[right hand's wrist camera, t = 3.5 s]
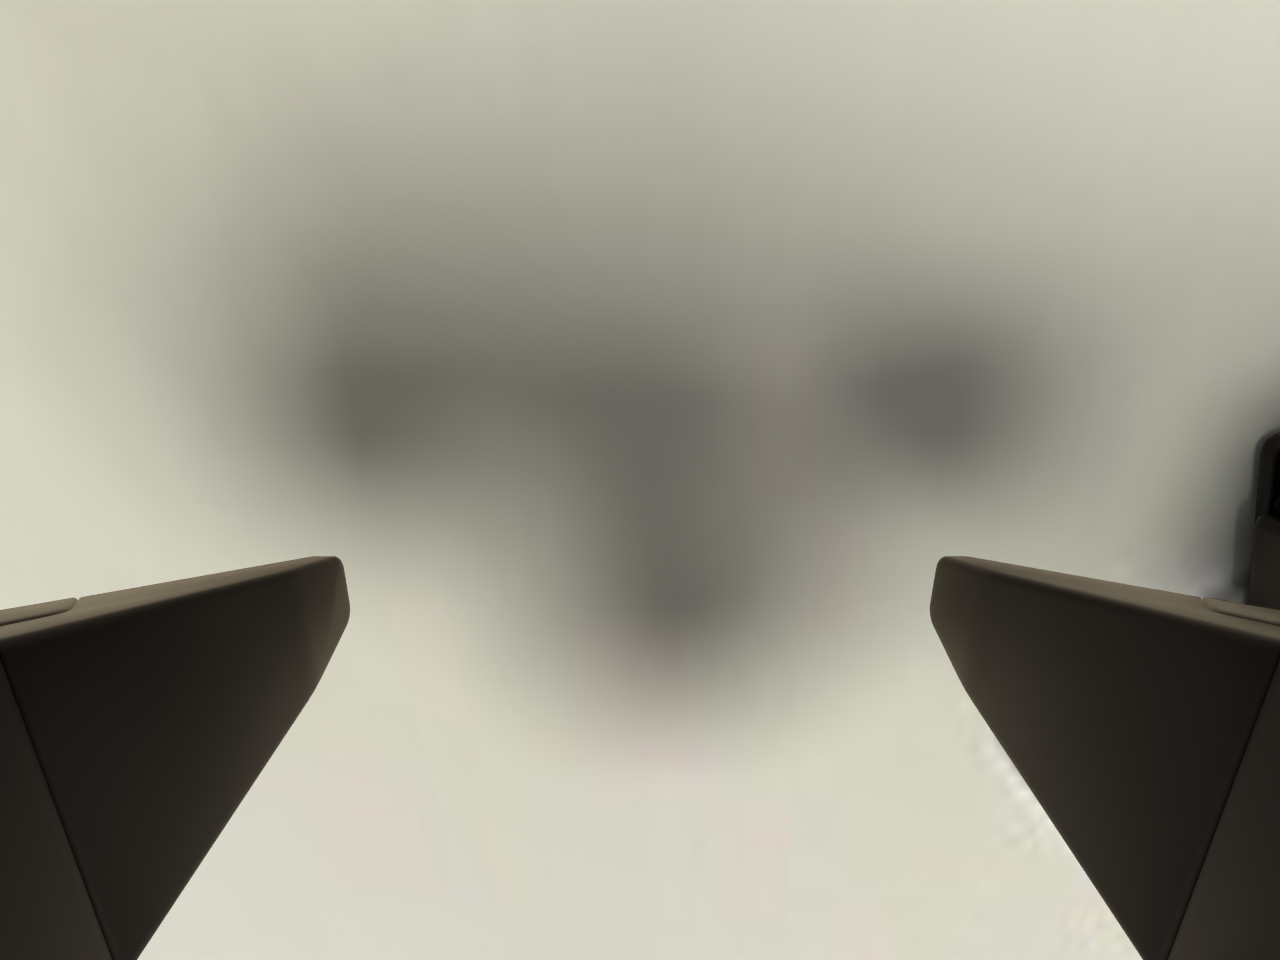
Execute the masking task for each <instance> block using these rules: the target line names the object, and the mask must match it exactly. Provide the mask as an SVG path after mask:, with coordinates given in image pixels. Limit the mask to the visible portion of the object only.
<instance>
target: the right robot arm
mask: <svg viewBox="0 0 1280 960" xmlns="http://www.w3.org/2000/svg"><path fill="white" fill-rule="evenodd" d="M349 616H350V603H349V597H348V591H347V584H346V578H345V572H344V567H343V564H342V562H341V560H340V559H339V558H337V557H335V556H329V557H307V558H301V559H296V560H290V561H284V562H279V563H273V564H267V565H262V566H256V567H250V568H245V569H239V570H233V571H228V572H222V573H216V574H211V575H205V576H199V577H194V578H188V579H182V580H177V581H171V582H165V583H160V584H154V585H148V586H143V587H137V588H131V589H125V590H120V591H114V592H108V593H103V594H97V595H91V596H86V597H81V598H80V599H79V600H77V599H76V598H69V599H63V600H57V601H51V602H46V603H40V604H34V605H28V606H22V607H16V608H10V609H5V610H0V960H137V959H138V957H139V956H140V954H141V953H142V951H143V950H144V948H145V947H146V945H147V944H148V942H149V941H150V939H151V938H152V936H153V935H154V933H155V932H156V930H157V929H158V927H159V926H160V924H161V923H162V921H163V920H164V918H165V916H166V915H167V913H168V912H169V910H170V909H171V907H172V906H173V904H174V903H175V901H176V900H177V898H178V897H179V895H180V894H181V892H182V891H183V889H184V888H185V886H186V885H187V883H188V882H189V880H190V879H191V877H192V876H193V874H194V873H195V871H196V870H197V868H198V867H199V865H200V864H201V862H202V861H203V859H204V857H205V856H206V854H207V853H208V851H209V850H210V848H211V847H212V845H213V844H214V842H215V841H216V839H217V838H218V836H219V835H220V833H221V832H222V830H223V829H224V827H225V826H226V824H227V823H228V821H229V820H230V818H231V817H232V815H233V814H234V812H235V811H236V809H237V808H238V806H239V805H240V803H241V802H242V800H243V798H244V797H245V795H246V794H247V792H248V791H249V789H250V788H251V786H252V785H253V783H254V782H255V780H256V779H257V777H258V776H259V774H260V773H261V771H262V770H263V768H264V767H265V765H266V764H267V762H268V761H269V759H270V758H271V756H272V755H273V753H274V752H275V750H276V749H277V747H278V746H279V744H280V742H281V741H282V739H283V738H284V736H285V735H286V733H287V732H288V730H289V729H290V727H291V726H292V724H293V723H294V721H295V720H296V718H297V717H298V715H299V714H300V712H301V711H302V709H303V708H304V706H305V705H306V703H307V702H308V700H309V698H310V697H311V695H312V694H313V692H314V690H315V689H316V687H317V685H318V683H319V681H320V679H321V677H322V675H323V673H324V671H325V669H326V667H327V665H328V663H329V661H330V659H331V657H332V655H333V653H334V651H335V648H336V646H337V644H338V642H339V640H340V638H341V636H342V634H343V632H344V630H345V628H346V626H347V623H348V620H349ZM930 616H931V620H932V623H933V626H934V628H935V630H936V632H937V634H938V636H939V638H940V640H941V642H942V644H943V646H944V648H945V651H946V653H947V655H948V657H949V659H950V661H951V663H952V665H953V667H954V669H955V671H956V673H957V675H958V677H959V679H960V681H961V683H962V685H963V687H964V689H965V690H966V692H967V694H968V695H969V697H970V698H971V700H972V702H973V703H974V705H975V706H976V708H977V709H978V711H979V712H980V714H981V715H982V717H983V718H984V720H985V721H986V723H987V724H988V726H989V727H990V729H991V730H992V732H993V733H994V735H995V736H996V738H997V739H998V741H999V742H1000V744H1001V745H1002V747H1003V748H1004V750H1005V752H1006V753H1007V755H1008V756H1009V758H1010V759H1011V761H1012V762H1013V764H1014V765H1015V767H1016V768H1017V770H1018V771H1019V773H1020V774H1021V776H1022V777H1023V779H1024V780H1025V782H1026V783H1027V785H1028V786H1029V788H1030V789H1031V791H1032V792H1033V794H1034V795H1035V797H1036V798H1037V800H1038V801H1039V803H1040V804H1041V806H1042V807H1043V809H1044V810H1045V812H1046V813H1047V815H1048V817H1049V818H1050V820H1051V821H1052V823H1053V824H1054V826H1055V827H1056V829H1057V830H1058V832H1059V833H1060V835H1061V836H1062V838H1063V839H1064V841H1065V842H1066V844H1067V845H1068V847H1069V848H1070V850H1071V851H1072V853H1073V854H1074V856H1075V857H1076V859H1077V860H1078V862H1079V863H1080V865H1081V866H1082V868H1083V870H1084V871H1085V873H1086V874H1087V876H1088V877H1089V879H1090V880H1091V882H1092V883H1093V885H1094V886H1095V888H1096V889H1097V891H1098V892H1099V894H1100V895H1101V897H1102V898H1103V900H1104V901H1105V903H1106V904H1107V906H1108V907H1109V909H1110V910H1111V912H1112V913H1113V915H1114V916H1115V918H1116V919H1117V921H1118V923H1119V924H1120V926H1121V927H1122V929H1123V930H1124V932H1125V933H1126V935H1127V936H1128V938H1129V939H1130V941H1131V942H1132V944H1133V945H1134V947H1135V948H1136V950H1137V951H1138V953H1139V954H1140V956H1141V957H1142V959H1143V960H1280V433H1277V434H1275V435H1273V436H1272V437H1271V438H1269V439H1268V440H1267V441H1266V443H1265V444H1264V445H1263V447H1262V450H1261V453H1260V463H1259V477H1258V490H1257V503H1256V516H1255V530H1254V543H1253V556H1252V569H1251V583H1250V596H1249V605H1246V604H1240V603H1234V602H1229V601H1223V600H1217V599H1211V598H1204V599H1203V600H1201V599H1200V598H1199V597H1195V596H1189V595H1183V594H1178V593H1172V592H1166V591H1161V590H1155V589H1149V588H1144V587H1138V586H1132V585H1127V584H1121V583H1115V582H1110V581H1104V580H1098V579H1092V578H1087V577H1081V576H1075V575H1070V574H1064V573H1058V572H1053V571H1047V570H1041V569H1036V568H1030V567H1024V566H1019V565H1013V564H1007V563H1001V562H996V561H990V560H984V559H979V558H973V557H965V556H945V557H943V558H941V559H940V560H939V562H938V564H937V567H936V572H935V578H934V584H933V591H932V597H931V603H930Z"/></svg>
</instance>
